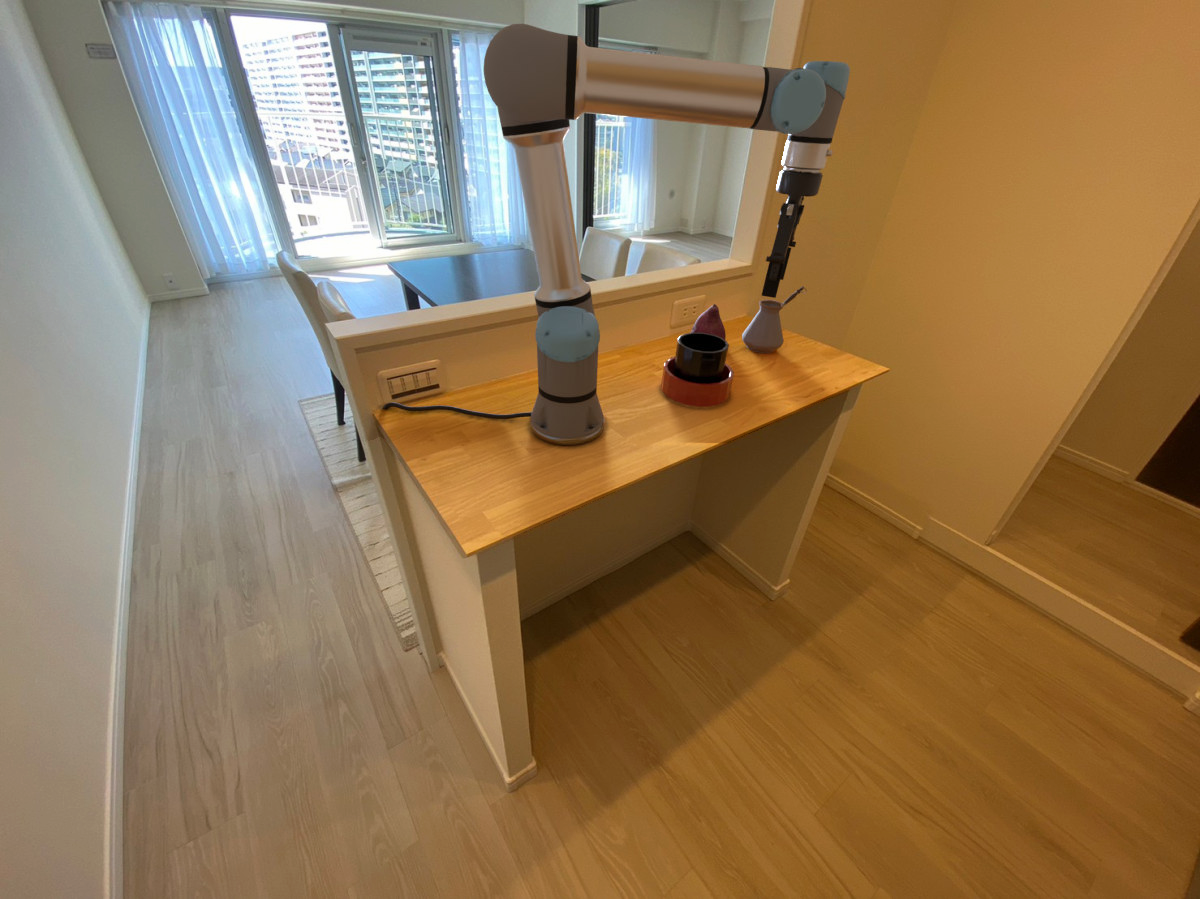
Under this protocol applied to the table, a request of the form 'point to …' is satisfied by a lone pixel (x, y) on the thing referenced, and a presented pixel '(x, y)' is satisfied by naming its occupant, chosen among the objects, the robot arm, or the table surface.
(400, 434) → the table surface
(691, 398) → the casserole
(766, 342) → the coffee pot
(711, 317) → the vegetable
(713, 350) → the black cylindrical cup
